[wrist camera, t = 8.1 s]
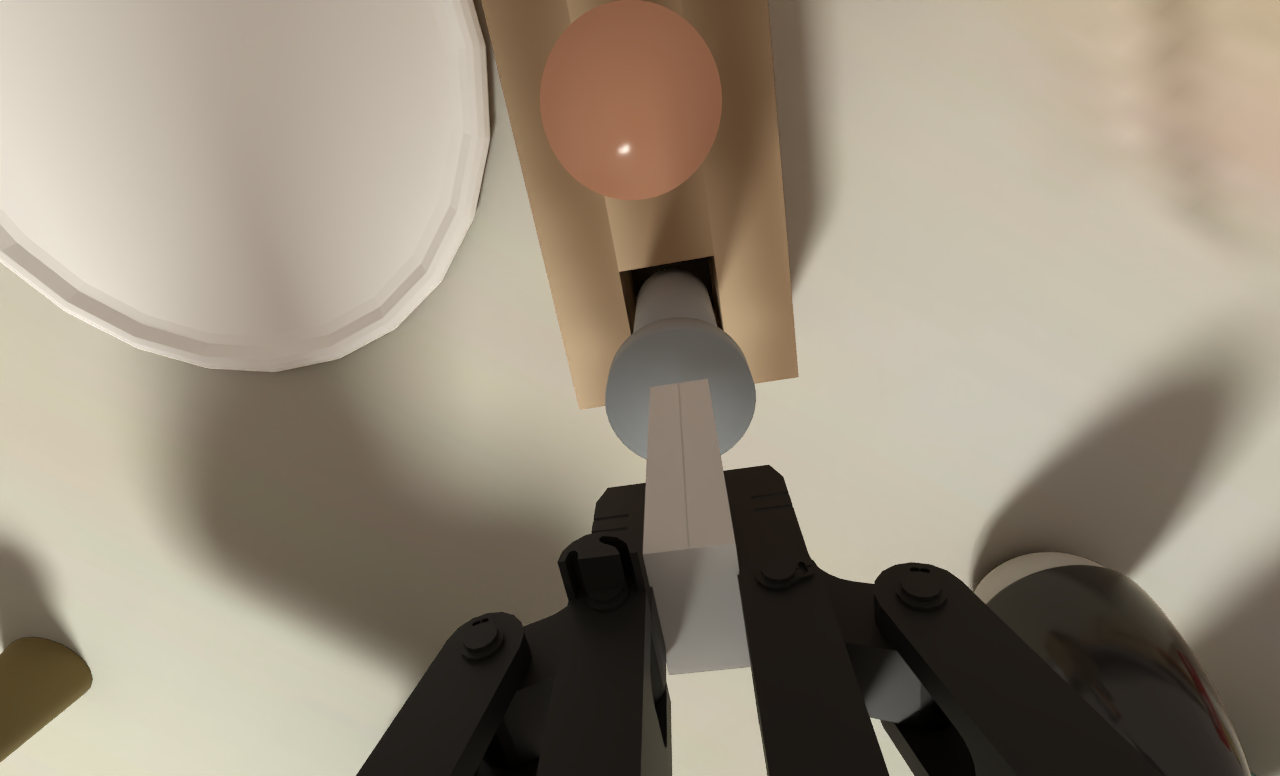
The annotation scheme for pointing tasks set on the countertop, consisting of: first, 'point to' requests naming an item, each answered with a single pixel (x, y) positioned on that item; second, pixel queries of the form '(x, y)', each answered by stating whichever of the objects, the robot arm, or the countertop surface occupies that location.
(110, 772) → the countertop surface
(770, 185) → the oak block
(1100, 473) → the countertop surface
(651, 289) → the plunger
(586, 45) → the plunger mid
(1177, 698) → the pump dispenser
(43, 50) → the plate
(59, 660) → the cork
